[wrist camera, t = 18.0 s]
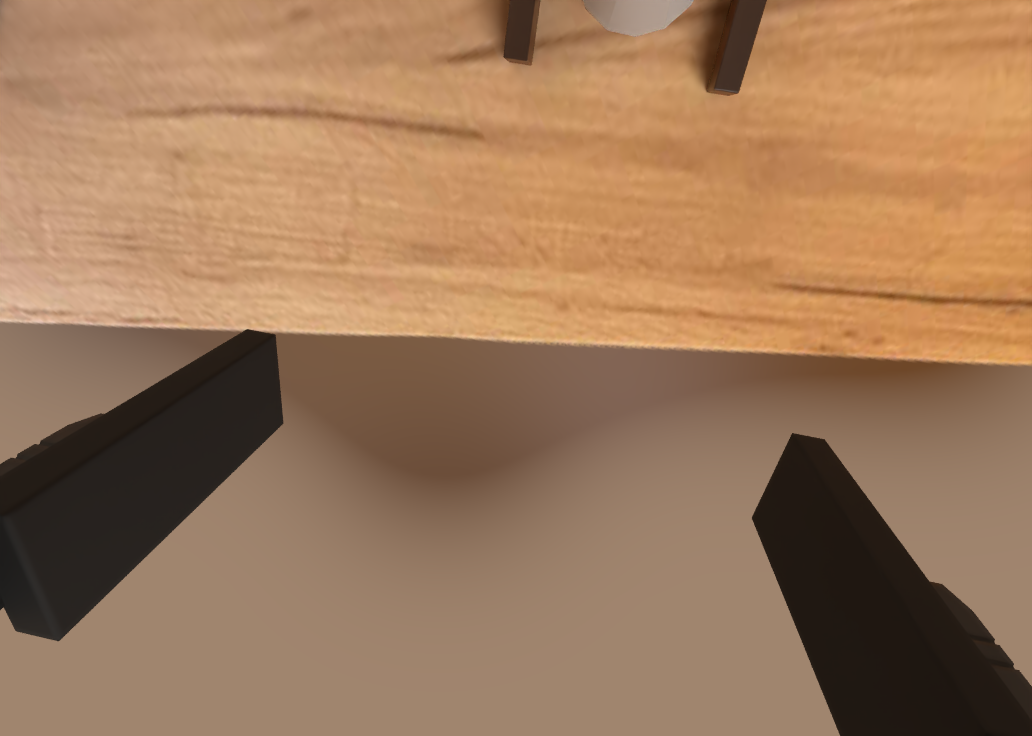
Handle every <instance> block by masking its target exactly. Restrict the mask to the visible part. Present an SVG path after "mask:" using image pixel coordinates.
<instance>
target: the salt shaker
mask: <svg viewBox="0 0 1032 736" xmlns="http://www.w3.org/2000/svg"><path fill="white" fill-rule="evenodd" d="M693 1H694V0H583V3H584V5H585V8H586V10H587V11H588V12H589V13H590V14H591V15H592V16H593V17H594V18H595V19H596V20H597V21H598V22H599V23H600V24H601V25H602V26H603V27H604V28H605V29H606V30H608V31H612V32H617V33H621V34H625V35H630V36H634V37H636V36H640V35H643V34H647V33H650V32H654V31H657V30H661V29H665V28H666V27H667V26H668V25H669V24H670V23H671V22H673V21H674V20H675V19H676V18H677V17H678V16H679V15H681V14H682V13H683V12H684V11H685V10H686V9H687V8H688V7H690V6H691V4H692V2H693Z"/></svg>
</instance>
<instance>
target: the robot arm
mask: <svg viewBox="0 0 1032 736" xmlns="http://www.w3.org/2000/svg"><path fill="white" fill-rule="evenodd" d="M282 424H283V415H282V403H281V391H280V380H279V369H278V359H277V347H276V335H275V334H269V333H264V332H259V331H254V330H248V329H247V330H245V331H243V332H242V333H240V334H238V335H237V336H235V337H233V338H232V339H230V340H228V341H227V342H225V343H223V344H222V345H220V346H218V347H217V348H215V349H213V350H211V351H210V352H208V353H206V354H205V355H203V356H202V357H200V358H198V359H197V360H195V361H193V362H191V363H190V364H188V365H186V366H185V367H183V368H181V369H180V370H178V371H176V372H175V373H173V374H172V375H170V376H168V377H167V378H165V379H163V380H161V381H159V382H158V383H156V384H154V385H153V386H151V387H150V388H148V389H146V390H145V391H143V392H141V393H139V394H138V395H136V396H134V397H133V398H131V399H129V400H128V401H126V402H124V403H122V404H121V405H119V406H117V407H116V408H114V409H112V410H111V411H109V412H107V413H106V414H98V415H95V416H92V417H90V418H87V419H84V420H81V421H78V422H75V423H73V424H70V425H67V426H66V427H64V428H62V429H61V430H59V431H57V432H55V433H53V434H52V435H50V436H48V437H46V438H45V439H43V440H41V442H40V444H39V445H37V444H34V445H32V446H31V447H29V448H27V449H26V450H24V451H22V452H20V453H19V454H18V455H17V457H16V458H10V459H8V460H6V461H5V462H3V463H2V464H0V610H1V609H2V608H3V607H4V609H5V610H6V613H7V615H8V617H9V619H10V621H11V623H12V625H13V627H14V629H15V630H16V631H17V632H22V633H26V634H30V635H35V636H39V637H43V638H47V639H52V640H56V641H60V640H61V639H62V638H63V637H64V636H65V635H66V634H67V633H68V632H69V631H70V630H71V629H72V628H73V627H74V626H75V625H76V624H77V623H78V622H79V621H80V620H81V619H82V618H83V617H84V616H85V615H86V614H88V613H89V611H91V609H93V608H94V606H96V605H97V604H98V603H99V602H100V601H101V600H102V599H103V598H104V597H105V596H106V595H107V594H108V593H109V592H110V591H111V590H112V589H113V588H114V587H115V586H116V585H117V584H118V583H119V582H120V581H121V580H123V579H124V577H125V576H127V574H129V573H130V572H131V571H132V570H133V569H134V568H135V567H136V566H137V565H138V564H139V563H140V562H141V561H142V560H143V559H144V558H145V557H146V556H147V555H148V554H149V553H150V552H151V551H152V550H153V549H154V548H155V547H156V546H157V545H159V544H160V543H161V542H162V541H163V540H164V539H165V538H166V537H167V536H168V535H169V534H170V533H171V532H172V531H173V530H174V529H175V528H176V527H177V526H178V525H179V524H180V523H181V522H182V521H183V520H184V519H185V518H186V517H187V516H188V515H189V514H190V513H192V512H193V511H194V510H195V509H196V508H197V507H198V506H199V505H200V504H201V503H202V502H203V501H204V500H205V499H206V498H207V497H208V496H209V495H210V494H211V493H212V492H213V491H214V490H215V489H216V488H217V487H218V486H219V485H220V484H221V483H222V482H224V481H225V480H226V479H227V478H228V477H229V476H230V475H231V473H233V472H234V471H235V470H236V469H237V468H238V467H239V466H240V465H241V464H242V463H243V462H244V461H245V460H246V459H247V458H248V457H249V456H250V455H251V454H252V453H253V452H254V451H255V450H256V449H258V447H260V446H261V445H262V443H264V442H265V441H266V440H267V439H268V438H269V437H270V436H271V435H272V434H273V433H274V432H275V431H276V430H277V429H278V428H279V427H280V426H281V425H282ZM752 520H753V522H754V525H755V527H756V530H757V532H758V535H759V537H760V539H761V542H762V544H763V547H764V549H765V552H766V554H767V557H768V559H769V562H770V564H771V567H772V569H773V571H774V574H775V576H776V579H777V581H778V584H779V586H780V589H781V591H782V594H783V596H784V598H785V601H786V603H787V606H788V608H789V611H790V613H791V616H792V618H793V621H794V623H795V626H796V628H797V631H798V633H799V635H800V638H801V640H802V643H803V645H804V647H805V650H806V653H807V655H808V657H809V660H810V662H811V665H812V668H813V670H814V672H815V675H816V677H817V680H818V682H819V685H820V687H821V690H822V692H823V695H824V697H825V699H826V702H827V704H828V707H829V709H830V712H831V714H832V717H833V719H834V722H835V724H836V727H837V729H838V731H839V734H840V736H1032V686H1031V685H1030V684H1029V682H1028V681H1027V680H1026V679H1025V677H1024V676H1023V675H1022V674H1021V672H1020V671H1019V670H1015V669H1014V667H1013V665H1014V663H1013V662H1012V661H1011V659H1010V658H1009V657H1008V656H1007V654H1006V653H1005V652H1004V651H1003V649H1002V648H1001V647H1000V645H996V644H995V643H994V640H995V639H994V638H993V636H992V635H991V634H990V633H989V631H988V630H987V629H986V628H985V626H984V625H983V624H982V622H981V621H980V620H979V619H978V617H977V616H976V615H975V614H974V612H973V611H972V610H971V609H970V608H969V607H968V606H966V605H965V604H964V603H963V602H962V601H961V600H959V599H958V598H957V597H956V596H955V595H954V594H953V593H951V592H950V591H949V590H948V589H947V588H946V587H945V586H944V585H942V584H939V583H934V582H929V580H928V579H927V578H926V577H925V575H924V574H923V572H922V571H921V570H920V568H919V567H918V565H917V564H916V563H915V561H914V560H913V559H912V557H911V556H910V555H909V554H908V552H907V551H906V549H905V548H904V546H903V545H902V544H901V542H900V541H899V540H898V539H897V537H896V536H895V534H894V533H893V532H892V530H891V529H890V528H889V526H888V525H887V524H886V522H885V521H884V519H883V518H882V517H881V515H880V514H879V513H878V511H877V510H876V509H875V507H874V506H873V505H872V503H871V502H870V500H869V499H868V498H867V496H866V495H865V494H864V492H863V491H862V490H861V488H860V487H859V486H858V484H857V483H856V481H855V480H854V479H853V477H852V476H851V475H850V473H849V472H848V471H847V469H846V468H845V467H844V465H843V464H842V462H841V461H840V460H839V458H838V457H837V456H836V454H835V453H834V452H833V450H832V449H831V448H830V446H829V445H828V444H827V442H826V441H825V439H820V438H814V437H809V436H804V435H799V434H794V433H792V435H791V437H790V439H789V441H788V443H787V445H786V447H785V450H784V451H783V454H782V456H781V458H780V460H779V462H778V464H777V466H776V468H775V470H774V473H773V474H772V477H771V479H770V481H769V483H768V485H767V487H766V489H765V491H764V493H763V495H762V497H761V499H760V502H759V504H758V506H757V508H756V510H755V512H754V514H753V516H752Z"/></svg>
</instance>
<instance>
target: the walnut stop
mask: <svg viewBox="0 0 1032 736" xmlns="http://www.w3.org/2000/svg"><path fill="white" fill-rule="evenodd" d="M766 1H767V0H732V1H731V5H730V8H729V12H728V16H727V19H726V23H725V26H724V30H723V34H722V37H721V41H720V45H719V48H718V52H717V55H716V59H715V63H714V66H713V70H712V73H711V77H710V81H709V84H708V88H707V92H708V93H714V94H721V95H727V96H729V95H733V94H737V93H739V90H740V87H741V84H742V80H743V77H744V74H745V71H746V67H747V64H748V61H749V57H750V54H751V51H752V48H753V44H754V41H755V38H756V34H757V31H758V28H759V24H760V21H761V18H762V15H763V11H764V8H765V5H766ZM539 6H540V0H510V4H509V13H508V22H507V31H506V40H505V49H504V58H505V59H506V60H508V61H509V62H512V63H518V64H525V65H531V64H532V58H533V51H534V43H535V36H536V29H537V21H538V14H539Z"/></svg>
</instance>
